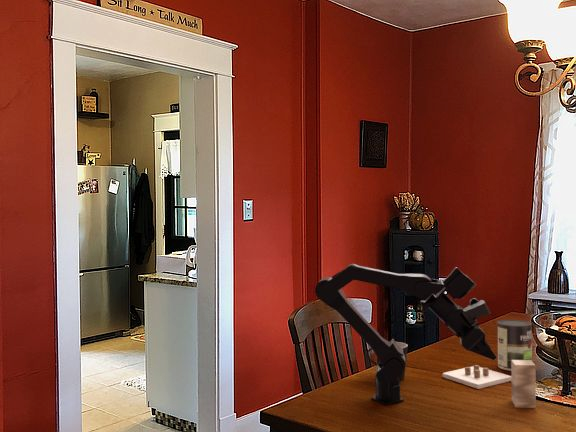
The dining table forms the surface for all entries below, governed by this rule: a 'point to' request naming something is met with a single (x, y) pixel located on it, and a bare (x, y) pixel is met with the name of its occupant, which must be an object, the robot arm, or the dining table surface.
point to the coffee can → (514, 342)
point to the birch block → (523, 383)
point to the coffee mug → (404, 346)
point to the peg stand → (477, 376)
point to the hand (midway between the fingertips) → (492, 354)
